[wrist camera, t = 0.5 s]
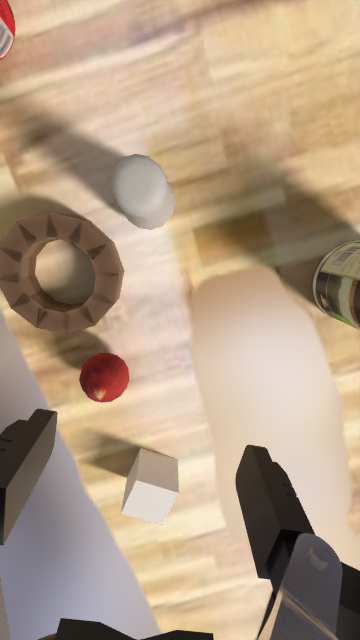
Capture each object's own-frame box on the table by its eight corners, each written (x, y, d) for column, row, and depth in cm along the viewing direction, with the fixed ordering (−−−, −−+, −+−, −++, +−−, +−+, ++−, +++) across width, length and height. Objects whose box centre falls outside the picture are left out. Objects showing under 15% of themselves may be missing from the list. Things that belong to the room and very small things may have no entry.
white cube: (127, 477, 44) (120, 513, 38) (140, 447, 42) (135, 480, 37) (163, 488, 45) (162, 525, 39) (177, 458, 43) (178, 493, 37)
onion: (85, 377, 39) (64, 411, 31) (94, 339, 37) (75, 365, 30) (126, 387, 39) (116, 424, 32) (137, 350, 38) (129, 379, 30)
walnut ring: (18, 203, 32) (1, 199, 29) (131, 231, 34) (127, 230, 30) (10, 311, 36) (-7, 319, 32) (112, 332, 37) (107, 342, 34)
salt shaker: (121, 177, 32) (91, 139, 19) (172, 174, 32) (174, 134, 20) (127, 231, 34) (103, 228, 21) (176, 228, 34) (180, 223, 21)
